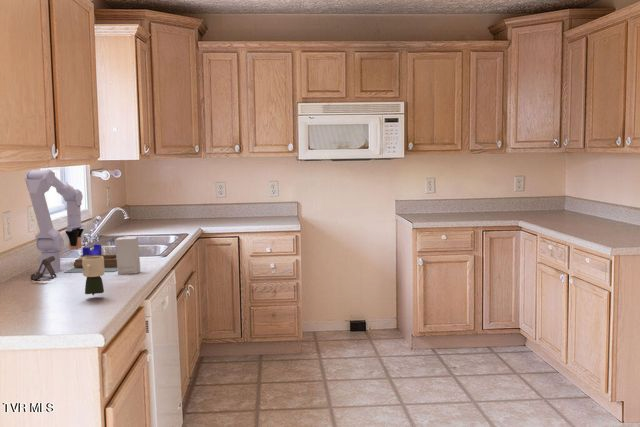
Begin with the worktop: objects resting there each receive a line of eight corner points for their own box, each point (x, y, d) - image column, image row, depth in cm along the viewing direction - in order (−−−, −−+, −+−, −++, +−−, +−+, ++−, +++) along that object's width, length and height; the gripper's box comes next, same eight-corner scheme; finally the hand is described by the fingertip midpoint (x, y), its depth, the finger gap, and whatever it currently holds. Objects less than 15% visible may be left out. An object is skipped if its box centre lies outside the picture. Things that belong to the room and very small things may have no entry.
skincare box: (140, 271, 257) (139, 236, 256) (136, 274, 251) (135, 238, 250) (120, 271, 257) (119, 236, 255) (116, 274, 251) (114, 238, 249)
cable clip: (93, 256, 301) (92, 244, 301) (101, 256, 301) (101, 244, 300) (80, 260, 289) (79, 247, 289) (89, 260, 289) (88, 248, 288)
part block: (78, 248, 277) (77, 237, 277) (69, 249, 277) (68, 238, 277) (81, 247, 281) (80, 236, 281) (72, 247, 281) (72, 237, 281)
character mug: (90, 291, 218) (88, 255, 217) (110, 290, 218) (108, 254, 217) (78, 297, 208) (76, 260, 206) (99, 297, 207) (97, 259, 206)
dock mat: (114, 271, 256) (114, 271, 256) (64, 272, 255) (64, 272, 255) (125, 265, 272) (125, 264, 272) (77, 266, 271) (77, 265, 271)
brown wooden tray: (119, 267, 265) (119, 259, 265) (72, 268, 264) (72, 260, 264) (128, 261, 279) (127, 254, 279) (83, 262, 278) (83, 255, 278)
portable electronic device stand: (39, 276, 249) (37, 256, 248) (58, 276, 249) (57, 255, 248) (30, 280, 240) (29, 259, 239) (51, 280, 240) (50, 259, 240)
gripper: (77, 216, 271) (78, 247, 272) (88, 214, 285) (89, 242, 287) (61, 217, 271) (62, 247, 272) (72, 214, 285) (74, 243, 286)
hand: (75, 245), depth 279 cm, fingers closed on part block, 4 cm apart
